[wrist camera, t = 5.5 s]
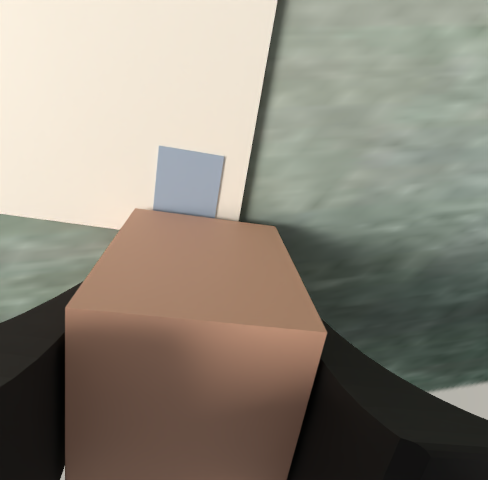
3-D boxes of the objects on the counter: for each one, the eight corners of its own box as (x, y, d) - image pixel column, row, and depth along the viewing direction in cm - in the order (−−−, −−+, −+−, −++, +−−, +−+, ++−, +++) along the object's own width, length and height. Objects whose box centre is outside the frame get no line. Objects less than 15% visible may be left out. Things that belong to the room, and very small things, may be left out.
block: (127, 330, 13) (64, 498, 8) (135, 208, 12) (65, 307, 6) (252, 341, 14) (279, 506, 8) (275, 226, 12) (326, 332, 7)
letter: (-151, 189, 12) (-163, 192, 11) (-228, -199, 8) (-247, -211, 8) (233, 241, 13) (234, 245, 13) (288, -70, 10) (291, -76, 10)
